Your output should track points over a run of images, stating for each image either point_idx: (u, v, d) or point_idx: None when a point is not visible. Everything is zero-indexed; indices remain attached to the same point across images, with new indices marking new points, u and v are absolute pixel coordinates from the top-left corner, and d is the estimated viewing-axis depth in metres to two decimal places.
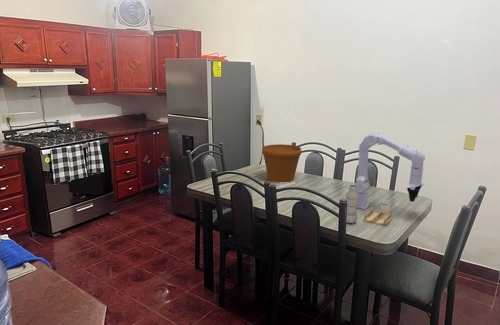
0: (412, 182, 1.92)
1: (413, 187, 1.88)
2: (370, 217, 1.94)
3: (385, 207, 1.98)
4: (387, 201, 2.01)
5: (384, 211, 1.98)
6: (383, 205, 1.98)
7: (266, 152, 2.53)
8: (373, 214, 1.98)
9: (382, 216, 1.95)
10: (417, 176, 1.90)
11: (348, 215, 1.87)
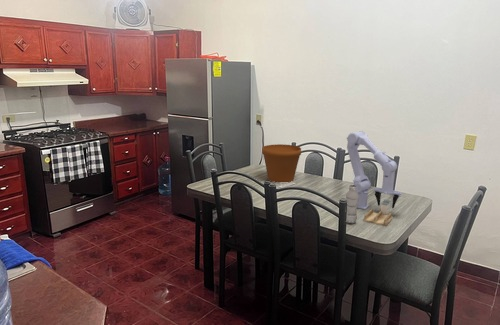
0: None
1: None
2: (370, 217, 1.94)
3: (385, 207, 1.98)
4: (387, 201, 2.01)
5: (384, 211, 1.98)
6: (383, 205, 1.98)
7: (266, 152, 2.53)
8: (373, 214, 1.98)
9: (382, 216, 1.95)
10: None
11: (348, 215, 1.87)
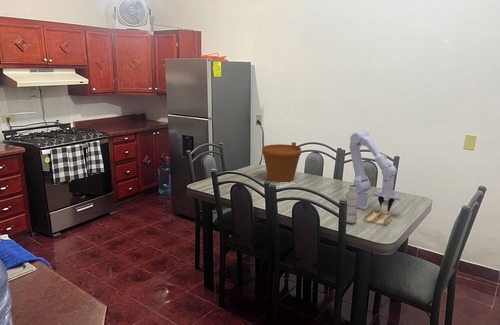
0: None
1: None
2: (370, 217, 1.94)
3: (385, 207, 1.98)
4: (387, 201, 2.01)
5: (384, 211, 1.98)
6: (383, 205, 1.98)
7: (266, 152, 2.53)
8: (373, 214, 1.98)
9: (382, 216, 1.95)
10: (382, 187, 1.99)
11: (348, 215, 1.87)
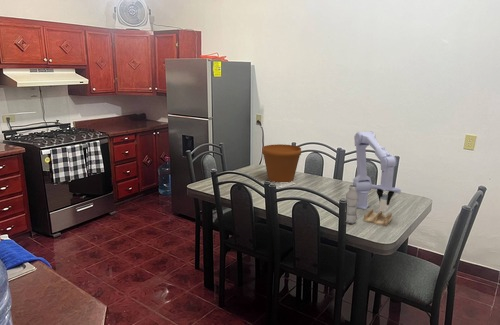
0: None
1: None
2: (370, 217, 1.94)
3: (384, 202, 1.87)
4: (386, 195, 1.90)
5: (383, 206, 1.87)
6: (382, 199, 1.87)
7: (266, 152, 2.53)
8: (373, 214, 1.98)
9: (382, 216, 1.95)
10: (381, 178, 1.87)
11: (348, 215, 1.87)
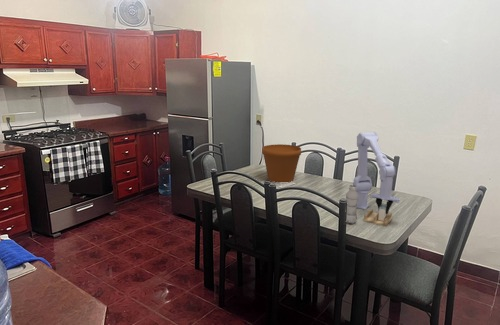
0: None
1: None
2: (370, 217, 1.94)
3: (383, 211, 1.88)
4: (385, 205, 1.91)
5: (382, 215, 1.88)
6: (381, 209, 1.88)
7: (266, 152, 2.53)
8: (373, 214, 1.98)
9: None
10: (380, 188, 1.89)
11: (348, 215, 1.87)
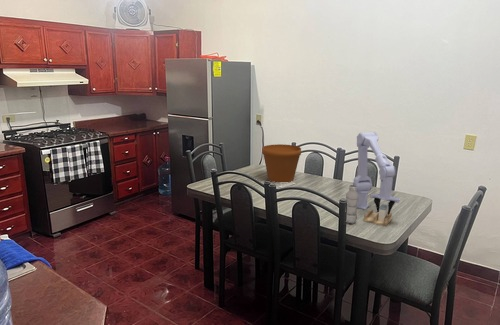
0: None
1: None
2: (370, 217, 1.94)
3: (383, 212, 1.88)
4: (385, 205, 1.91)
5: (382, 216, 1.88)
6: (381, 210, 1.88)
7: (266, 152, 2.53)
8: (373, 214, 1.98)
9: None
10: (380, 188, 1.89)
11: (348, 215, 1.87)
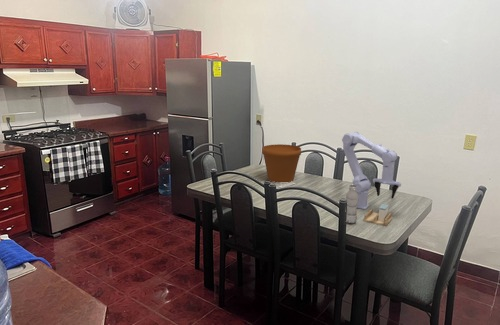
0: None
1: None
2: (370, 217, 1.94)
3: (383, 212, 1.88)
4: (385, 205, 1.91)
5: (382, 216, 1.88)
6: (381, 210, 1.88)
7: (266, 152, 2.53)
8: (373, 214, 1.98)
9: None
10: (382, 172, 1.97)
11: (348, 215, 1.87)
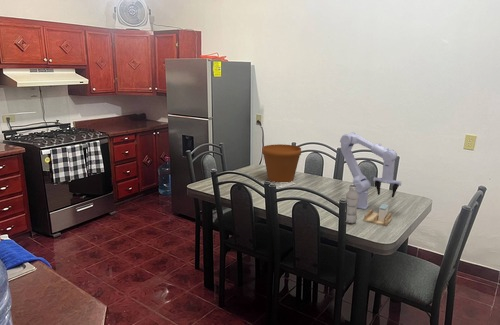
0: None
1: None
2: (370, 217, 1.94)
3: (383, 212, 1.88)
4: (385, 205, 1.91)
5: (382, 216, 1.88)
6: (381, 210, 1.88)
7: (266, 152, 2.53)
8: (373, 214, 1.98)
9: None
10: None
11: (348, 215, 1.87)
